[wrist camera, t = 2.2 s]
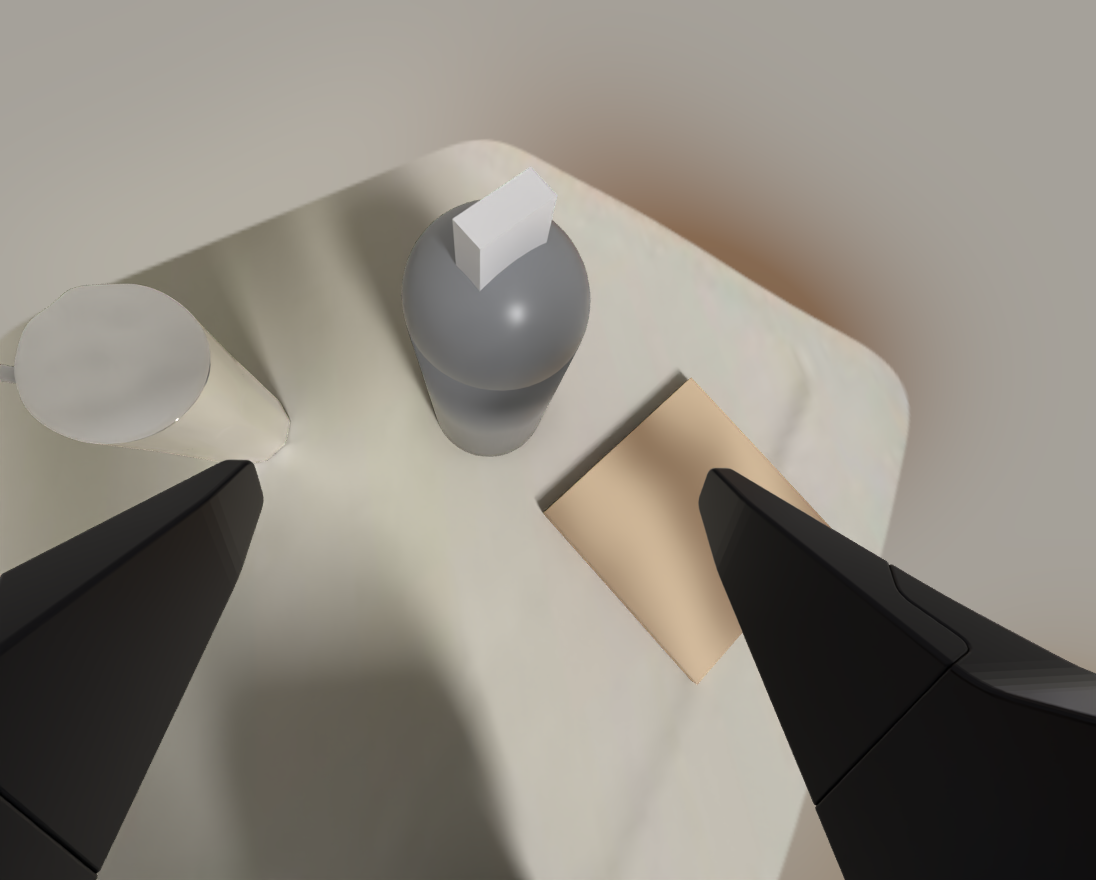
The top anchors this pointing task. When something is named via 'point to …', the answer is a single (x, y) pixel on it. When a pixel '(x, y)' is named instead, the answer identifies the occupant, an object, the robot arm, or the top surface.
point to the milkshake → (142, 378)
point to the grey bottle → (495, 313)
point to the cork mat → (667, 523)
